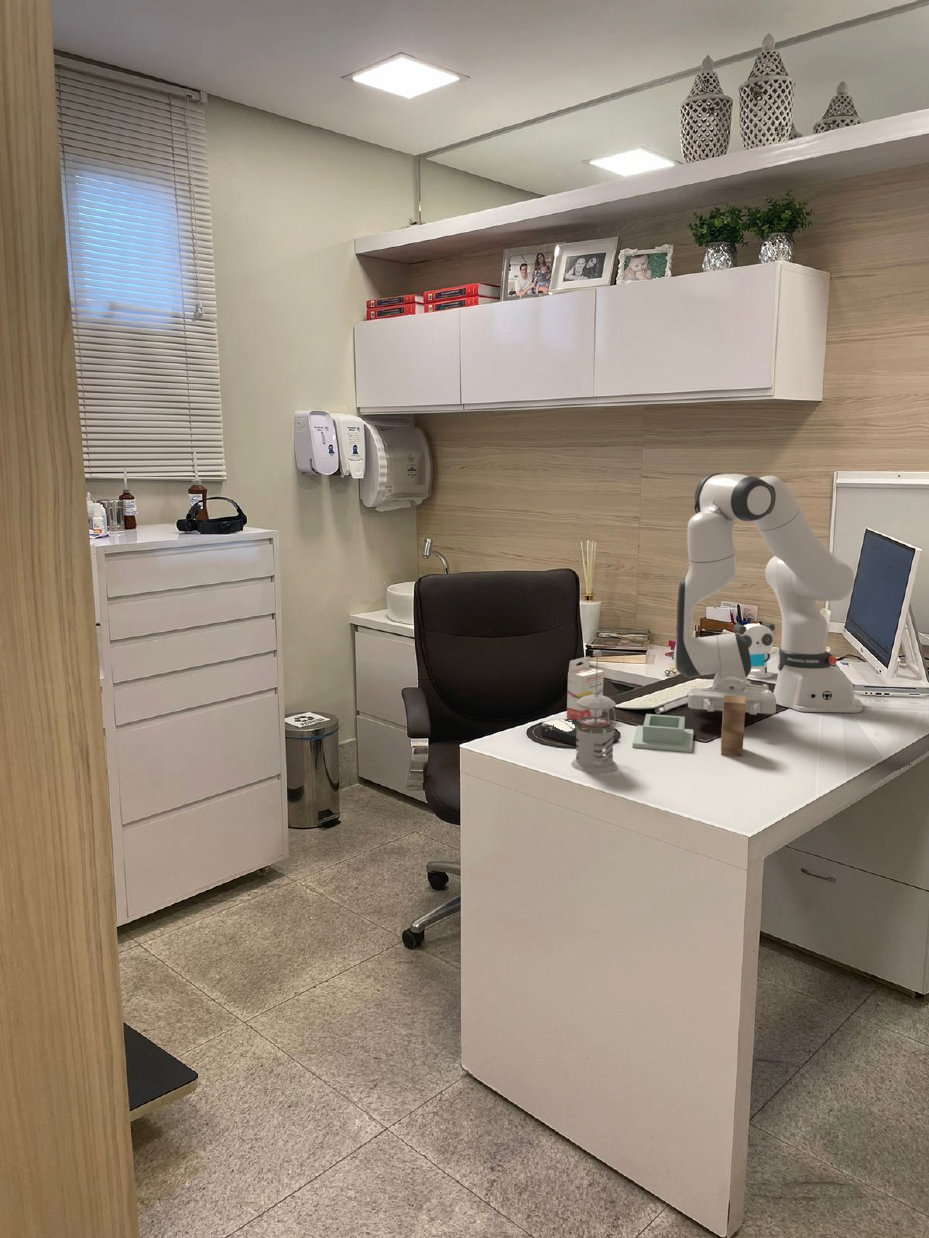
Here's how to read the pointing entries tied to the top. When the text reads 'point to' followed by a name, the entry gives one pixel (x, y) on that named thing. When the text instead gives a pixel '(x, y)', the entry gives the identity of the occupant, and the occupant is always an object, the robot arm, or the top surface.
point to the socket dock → (663, 734)
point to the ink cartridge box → (582, 687)
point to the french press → (595, 734)
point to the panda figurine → (757, 646)
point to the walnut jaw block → (733, 725)
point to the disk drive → (568, 732)
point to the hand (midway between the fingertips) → (731, 709)
